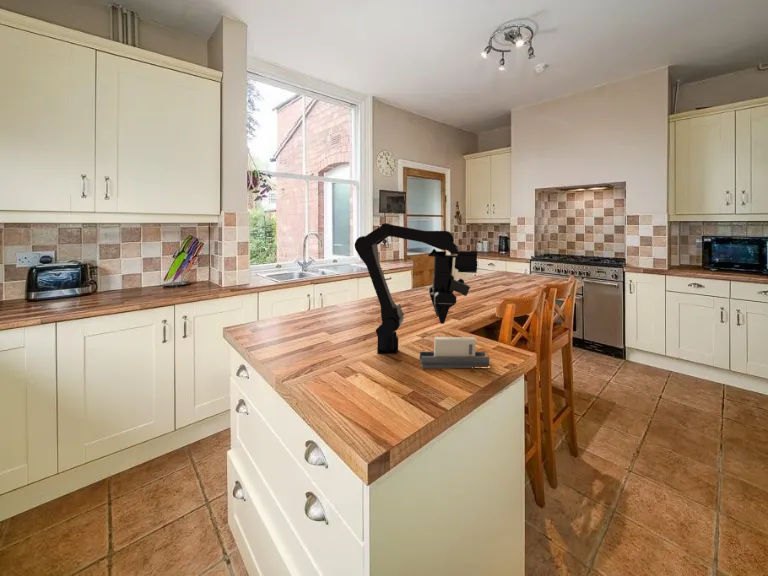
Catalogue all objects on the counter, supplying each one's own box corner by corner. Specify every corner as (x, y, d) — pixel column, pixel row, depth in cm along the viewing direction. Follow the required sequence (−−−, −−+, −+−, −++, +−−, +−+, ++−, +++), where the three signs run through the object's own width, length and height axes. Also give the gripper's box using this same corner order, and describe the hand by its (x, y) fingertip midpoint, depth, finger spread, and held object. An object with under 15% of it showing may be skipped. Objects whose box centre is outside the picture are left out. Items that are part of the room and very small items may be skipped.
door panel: (435, 362, 106) (436, 339, 105) (433, 359, 109) (434, 337, 108) (475, 362, 107) (476, 340, 106) (472, 359, 110) (473, 337, 108)
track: (422, 368, 104) (422, 358, 104) (419, 358, 112) (419, 349, 112) (490, 368, 104) (491, 359, 104) (482, 359, 112) (483, 349, 112)
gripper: (475, 276, 102) (472, 328, 105) (462, 268, 120) (460, 313, 123) (436, 275, 102) (433, 327, 105) (429, 267, 121) (427, 312, 123)
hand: (440, 319), depth 114 cm, fingers open, 9 cm apart
